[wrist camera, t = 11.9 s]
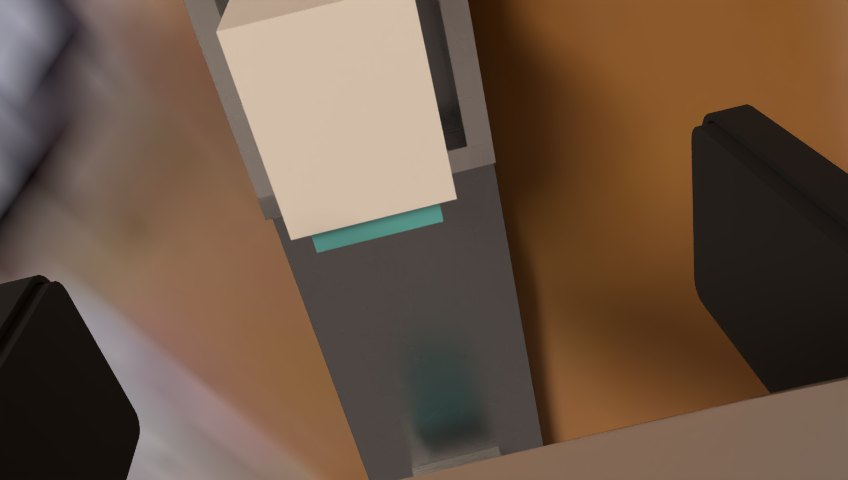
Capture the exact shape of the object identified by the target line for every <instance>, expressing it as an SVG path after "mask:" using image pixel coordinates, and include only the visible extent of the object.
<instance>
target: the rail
mask: <svg viewBox="0 0 848 480" xmlns="http://www.w3.org/2000/svg"><path fill="white" fill-rule="evenodd" d="M183 1H184V4H185V6H186V9H187V12H188V14H189V17H190V20H191V22H192V25H193V28H194V30H195V33H196V36H197V38H198V41H199V44H200V46H201V49H202V52H203V54H204V57H205V60H206V62H207V65H208V68H209V70H210V73H211V76H212V78H213V81H214V83H215V86H216V89H217V91H218V94H219V97H220V99H221V102H222V105H223V107H224V110H225V113H226V115H227V118H228V121H229V123H230V126H231V129H232V131H233V134H234V137H235V139H236V142H237V145H238V147H239V150H240V153H241V155H242V158H243V161H244V163H245V166H246V169H247V171H248V174H249V177H250V179H251V182H252V185H253V187H254V190H255V192H256V195H257V198H258V200H259V203H260V206H261V208H262V211H263V214H264V216H265V219H266V220H268V219H272V218H273V221H274V224H275V226H276V229H277V232H278V234H279V237H280V240H281V243H282V245H283V248H284V251H285V253H286V256H287V259H288V261H289V264H290V267H291V270H292V272H293V275H294V278H295V280H296V283H297V286H298V289H299V291H300V294H301V297H302V299H303V302H304V305H305V307H306V310H307V313H308V316H309V318H310V321H311V324H312V326H313V329H314V332H315V334H316V337H317V340H318V343H319V345H320V348H321V351H322V353H323V356H324V359H325V362H326V364H327V367H328V370H329V372H330V375H331V378H332V380H333V383H334V386H335V389H336V391H337V394H338V397H339V399H340V402H341V405H342V407H343V410H344V413H345V416H346V418H347V421H348V424H349V426H350V429H351V432H352V435H353V437H354V440H355V443H356V445H357V448H358V451H359V453H360V456H361V459H362V462H363V464H364V467H365V470H366V472H367V475H368V478H369V480H401V479H405V478H409V477H414V476H418V475H422V474H426V473H431V472H435V471H439V470H443V469H448V468H452V467H456V466H460V465H465V464H469V463H473V462H477V461H482V460H486V459H490V458H494V457H499V456H503V455H507V454H512V453H516V452H520V451H524V450H529V449H533V448H537V447H541V446H543V441H542V436H541V430H540V424H539V419H538V413H537V407H536V401H535V396H534V390H533V384H532V379H531V373H530V367H529V361H528V356H527V350H526V344H525V339H524V333H523V327H522V321H521V316H520V310H519V304H518V299H517V293H516V287H515V281H514V276H513V270H512V264H511V259H510V253H509V247H508V242H507V236H506V230H505V224H504V219H503V213H502V207H501V202H500V196H499V190H498V184H497V179H496V173H495V167H494V163H496V160H495V154H494V148H493V143H492V137H491V131H490V125H489V120H488V114H487V108H486V102H485V96H484V91H483V85H482V79H481V73H480V68H479V62H478V56H477V50H476V44H475V39H474V33H473V27H472V21H471V16H470V10H469V4H468V0H415V2H416V7H417V11H418V16H419V21H420V26H421V30H422V35H423V40H424V45H425V50H426V54H427V59H428V64H429V69H430V73H431V78H432V83H433V88H434V92H435V97H436V102H437V107H438V111H439V116H440V121H441V126H442V130H443V135H444V140H445V145H446V149H447V154H448V159H449V164H450V168H451V173H452V178H453V183H454V187H455V192H456V197H457V199H455V200H451V201H447V202H443V203H440V208H441V212H442V217H443V222H439V223H435V224H431V225H427V226H423V227H419V228H415V229H411V230H407V231H403V232H399V233H395V234H391V235H387V236H383V237H379V238H375V239H371V240H367V241H363V242H359V243H355V244H351V245H347V246H343V247H339V248H335V249H331V250H327V251H323V252H319V253H317V251H316V248H315V245H314V242H313V239H312V236H311V235H310V236H306V237H302V238H298V239H294V240H291V238H290V236H289V233H288V230H287V227H286V225H285V222H284V219H283V216H282V213H281V211H280V208H279V205H278V202H277V200H276V197H275V194H274V191H273V189H272V186H271V183H270V180H269V177H268V175H267V172H266V169H265V166H264V164H263V161H262V158H261V155H260V152H259V150H258V147H257V144H256V141H255V139H254V136H253V133H252V130H251V127H250V125H249V122H248V119H247V116H246V114H245V111H244V108H243V105H242V102H241V100H240V97H239V94H238V91H237V89H236V86H235V83H234V80H233V77H232V75H231V72H230V69H229V66H228V64H227V61H226V58H225V55H224V53H223V50H222V47H221V44H220V41H219V39H218V36H217V33H216V31H217V29H218V26H219V24H220V21H221V19H222V16H223V14H224V11H225V9H226V7H227V4H228V2H229V0H183Z"/></svg>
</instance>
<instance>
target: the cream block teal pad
mask: <svg viewBox="0 0 848 480" xmlns="http://www.w3.org/2000/svg"><path fill="white" fill-rule="evenodd" d="M216 33H217V36H218V39H219V41H220V44H221V47H222V50H223V53H224V55H225V58H226V61H227V64H228V66H229V69H230V72H231V75H232V77H233V80H234V83H235V86H236V89H237V91H238V94H239V97H240V100H241V102H242V105H243V108H244V111H245V114H246V116H247V119H248V122H249V125H250V127H251V130H252V133H253V136H254V139H255V141H256V144H257V147H258V150H259V152H260V155H261V158H262V161H263V164H264V166H265V169H266V172H267V175H268V177H269V180H270V183H271V186H272V189H273V191H274V194H275V197H276V200H277V202H278V205H279V208H280V211H281V213H282V216H283V219H284V222H285V225H286V227H287V230H288V233H289V236H290V238H291V240H294V239H298V238H302V237H306V236H310V235H311V236H312V239H313V242H314V245H315V248H316V251H317V253H319V252H323V251H327V250H331V249H335V248H339V247H343V246H347V245H351V244H355V243H359V242H363V241H367V240H371V239H375V238H379V237H383V236H387V235H391V234H395V233H399V232H403V231H407V230H411V229H415V228H419V227H423V226H427V225H431V224H435V223H439V222H443V217H442V212H441V208H440V203H443V202H447V201H451V200H455V199H457V197H456V192H455V187H454V183H453V178H452V173H451V168H450V164H449V159H448V154H447V149H446V145H445V140H444V135H443V130H442V126H441V121H440V116H439V111H438V107H437V102H436V97H435V92H434V88H433V83H432V78H431V73H430V69H429V64H428V59H427V54H426V50H425V45H424V40H423V35H422V30H421V26H420V21H419V16H418V11H417V7H416V2H415V0H229V2H228V4H227V7H226V9H225V11H224V14H223V16H222V19H221V21H220V24H219V26H218V29H217V31H216Z"/></svg>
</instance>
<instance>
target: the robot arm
mask: <svg viewBox="0 0 848 480" xmlns="http://www.w3.org/2000/svg"><path fill="white" fill-rule="evenodd" d="M692 185H693V234H694V279H695V286H696V290H697V293H698V296H699V298H700V300H701V302H702V303H703V305H704V306H705V307H706V309H707V310H708V311H709V313H710V314H711V315H712V317H713V318H714V319H715V321H716V322H717V323H718V325H719V326H720V327H721V329H722V330H723V331H724V332H725V334H726V335H727V336H728V338H729V339H730V340H731V342H732V343H733V344H734V346H735V347H736V348H737V350H738V351H739V352H740V354H741V355H742V356H743V358H744V359H745V360H746V362H747V363H748V364H749V366H750V367H751V368H752V370H753V371H754V372H755V374H756V375H757V376H758V378H759V379H760V380H761V382H762V383H763V384H764V385H765V387H766V388H767V389H768V391H769V392H770V394H766V395H762V396H757V397H753V398H749V399H744V400H740V401H736V402H731V403H727V404H723V405H718V406H714V407H710V408H705V409H701V410H697V411H692V412H688V413H684V414H679V415H675V416H671V417H666V418H662V419H658V420H653V421H649V422H645V423H640V424H636V425H632V426H627V427H623V428H619V429H614V430H610V431H606V432H601V433H597V434H593V435H588V436H584V437H580V438H576V439H571V440H567V441H563V442H558V443H554V444H550V445H546V446H541V447H537V448H533V449H529V450H524V451H520V452H516V453H512V454H507V455H503V456H499V457H494V458H490V459H486V460H482V461H477V462H473V463H469V464H465V465H460V466H456V467H452V468H448V469H443V470H439V471H435V472H431V473H426V474H422V475H418V476H414V477H409V478H405V479H401V480H848V174H847V173H846V172H844V171H843V170H842V169H840V168H839V167H837V166H836V165H835V164H833V163H832V162H830V161H829V160H827V159H826V158H825V157H823V156H822V155H820V154H819V153H818V152H816V151H815V150H813V149H812V148H810V147H809V146H808V145H806V144H805V143H803V142H802V141H801V140H799V139H798V138H796V137H795V136H793V135H792V134H791V133H789V132H788V131H786V130H785V129H784V128H782V127H781V126H779V125H778V124H776V123H775V122H774V121H772V120H771V119H769V118H768V117H766V116H765V115H764V114H762V113H761V112H759V111H758V110H757V109H755V108H754V107H752V106H750V105H748V104H746V105H742V106H738V107H734V108H730V109H726V110H722V111H717V112H713V113H709V114H707V115H706V116H705V117H704V120H703V123H702V126H698V127H695V128H694V129H693V132H692ZM139 434H140V426H139V420H138V416H137V414H136V412H135V410H134V408H133V406H132V405H131V403H130V401H129V399H128V398H127V396H126V394H125V392H124V391H123V389H122V387H121V385H120V384H119V382H118V380H117V378H116V377H115V375H114V373H113V371H112V370H111V368H110V366H109V364H108V362H107V361H106V359H105V357H104V355H103V354H102V352H101V350H100V348H99V347H98V345H97V343H96V341H95V340H94V338H93V336H92V334H91V333H90V331H89V329H88V327H87V326H86V324H85V322H84V320H83V319H82V317H81V315H80V313H79V312H78V310H77V308H76V306H75V305H74V303H73V301H72V299H71V298H70V296H69V294H68V292H67V291H66V289H65V288H64V286H63V285H62V284H61V283H59V282H57V281H54V282H50V281H49V280H48V279H47V278H46V277H45V276H41V275H37V276H32V277H28V278H24V279H20V280H16V281H12V282H7V283H3V284H0V480H126V479H127V476H128V473H129V469H130V466H131V463H132V459H133V456H134V453H135V449H136V446H137V442H138V439H139Z"/></svg>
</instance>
